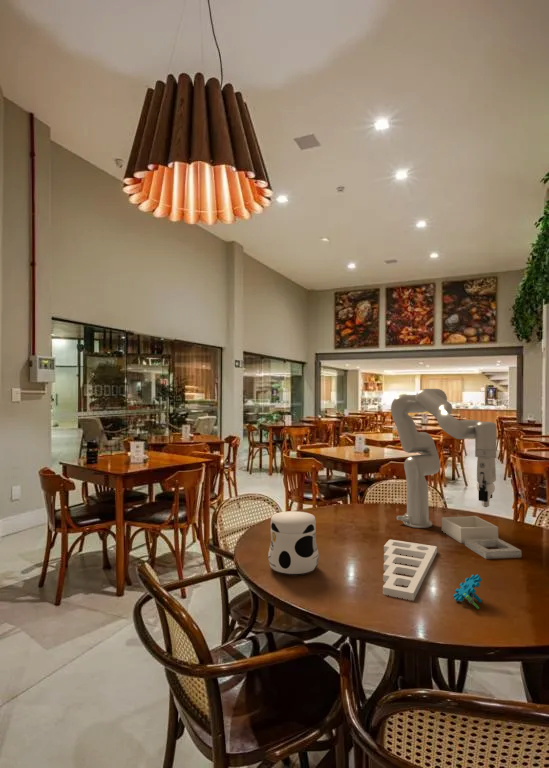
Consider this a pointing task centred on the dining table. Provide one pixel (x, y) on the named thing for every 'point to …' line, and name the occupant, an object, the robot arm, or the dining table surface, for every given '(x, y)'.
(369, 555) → the dining table surface
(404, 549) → the holder
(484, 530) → the bin
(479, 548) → the socket collar
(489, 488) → the lightbulb
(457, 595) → the blue lumpy piece
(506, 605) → the dining table surface
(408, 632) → the dining table surface
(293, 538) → the milk container
